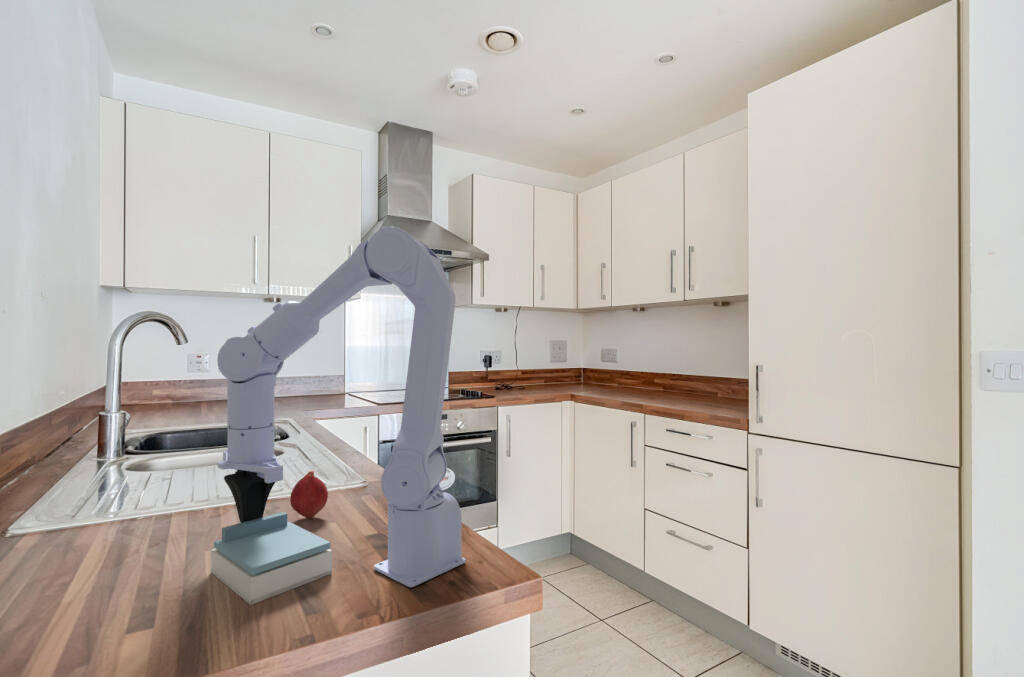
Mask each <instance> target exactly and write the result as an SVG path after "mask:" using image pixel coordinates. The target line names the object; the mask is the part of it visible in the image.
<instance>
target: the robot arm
mask: <svg viewBox="0 0 1024 677" xmlns="http://www.w3.org/2000/svg"><path fill="white" fill-rule="evenodd" d="M389 285H394V286H396V287H397V288H398V289H399V290H400V291H401V292H402V294H404V296H405V297H406V298H407V299H408V301H410V302H411V304H412V305H413V306H414V314H413V322H412V323H413V324H412V332H411V338H410V339H411V340H410V347H409V348H410V349H409V356H408V363H407V364H408V366H407V374H406V383H405V390H404V399H403V407H402V416H401V423H400V425H401V426H400V430H399V432H398V434H397V435H396V439H395V440H394V443H393V445H392V450H391V456H390V459H389V462H388V464H387V465H386V467H385V468H384V470H383V471H382V475H381V477H380V478H381V479H380V487H381V490H382V494H383V495H384V497H385V498H386V500H387V559H385V560H383V561H380V562H378V563H375V564H374V565H373V569H374V570H375V571H377V572H379V573H381V574H382V575H384V576H387V577H389V578H390V579H392V580H394V581H395V582H398V583H400V584H402V585H404V586H406V587H407V588H413V587H416V586H418V585H421V584H422V583H424V582H427V581H429V580H431V579H433V578H435V577H437V576H440V575H441V574H444V573H446V572H448V571H450V570H452V569H455V568H456V567H459V566H461V565H463V564H465V563H466V561H467V560H466V557H463V556H462V532H463V531H462V530H463V528H462V522H463V521H462V517H463V516H462V511H461V507H460V504H459V503H458V502H459V501H458V500H457V499H456V498H455V497H454V496H453V495H452V494H450V493H449V492H443V490H442V487H441V486H440V483H441V482H442V481H443V480H444V478H445V477H446V475H447V472H448V461H447V458H446V456H445V453H444V440H445V438H444V435H443V433H442V432H443V431H442V429H441V425H442V419H443V418H442V416H443V409H444V402H445V401H444V399H445V391H446V385H447V384H446V383H447V375H448V368H449V359H450V349H451V343H452V334H453V324H454V317H455V308H456V294H455V292H454V289H453V287H452V285H451V283H450V281H449V278H448V277H447V275H446V272H445V271H444V268H443V266H442V263H441V259H440V257H439V255H437V253H435V252H434V251H433V250H432V249H431V248H430V247H429V246H428V245H426V244H425V243H424V242H423V241H420V240H417V239H416V238H414V237H413V236H412V235H410V233H408V232H407V231H405V230H404V229H402V228H399V227H396V226H386V227H383V228H380V229H378V230H377V231H376V232H375V233H373V235H371V237H370V238H369V239H366V240H365V241H362V242H361V243H359V244H358V245H357V246H356V248H355V250H354V251H353V252H352V254H351V255H350V256H349V257H348V258H347V259H346V260H345V261H344V262H343V263H341V265H340V266H338V267H337V268H336V269H335V270H334V271H333V272H332V273H331V274H330V275H329V276H328V277H326V279H325V280H323V281H322V282H321V283H320V284H319V285H318V286H317V287H316V288H315V289H314V290H312V291H311V292H310V293H309V294H308V295H307V296H306V297H305V298H304V299H303V300H302V301H301V302H299V301H293V300H289V301H286V302H285V303H283V302H278V303H276V304H275V305H274V306H273V307H272V310H273V311H274V312H272V314H270V315H269V316H267V317H266V318H265V319H264V320H263V321H262V322H260V323H259V324H257V326H251V327H250V328H248V329H247V331H246V332H247V334H246V335H245V336H234V337H229V338H228V339H226V341H225V343H223V345H222V346H221V347H220V348H219V351H218V354H217V361H216V362H217V367H218V369H219V371H220V372H219V373H221V375H223V376H224V377H225V379H226V380H227V391H226V392H227V396H226V397H227V398H226V399H227V400H226V401H227V402H226V403H227V404H226V405H227V407H226V408H227V414H226V415H227V416H226V418H227V420H226V421H227V423H226V424H227V426H226V427H227V437H226V438H227V443H226V445H227V446H226V448H227V450H223V451H222V460H221V461H218V462H217V469H220V470H229V469H230V470H236V471H235V472H234V473H229V474H226V475H224V476H223V480H224V482H225V483H226V485H227V486H228V488H229V490H230V492H231V495H232V497H233V500H234V502H235V506H236V512H237V514H238V520H239V523H242V522H246V521H250V520H254V519H258V518H261V517H264V514H265V509H266V505H267V501H268V498H269V496H270V494H271V492H272V489H273V487H274V485H275V484H276V482H281V481H283V480H284V465H282V464H280V462H279V460H278V458H277V456H276V454H275V387H276V386H277V384H276V381H277V376H278V374H279V373H280V372H281V370H283V369H282V368H283V365H284V364H285V361H286V360H287V359H288V358H290V356H291V355H293V354H294V353H295V352H297V351H298V350H299V349H301V348H302V347H303V346H304V345H306V343H308V342H309V341H310V340H311V339H313V338H314V337H315V336H317V335H318V333H319V330H320V321H321V320H322V319H324V318H325V317H326V316H327V315H329V314H330V313H331V312H333V311H334V310H336V309H337V308H339V307H340V306H341V305H342V304H344V303H345V302H347V301H349V300H350V299H351V298H352V297H353V296H355V295H356V294H358V293H359V292H360V291H362V290H363V289H364V288H367V287H376V286H377V287H378V286H389Z"/></svg>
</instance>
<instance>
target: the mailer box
mask: <svg viewBox="0 0 1024 677" xmlns="http://www.w3.org/2000/svg"><path fill="white" fill-rule="evenodd" d="M210 560H211V561H210V574H212V575H213V576H215V577H216V578H217V580H220V582H221V583H223V584H224V585H226V586H227V587H228V588H229V589H230V590H232V591H233V592H234V593H236V594H237V595H238V596H239V597H240V598H242V599H243V600H244V601H245V602H246V603H247V604H249V605H251V606H252V605H254V604H257V603H260V602H262V601H265V600H268V599H270V598H273V597H275V596H278V595H280V594H282V593H285V592H288V591H292V590H294V589H296V588H298V587H301V586H303V585H306V584H309V583H312V582H314V581H317V580H319V579H322V578H324V577H327V576H330V575H332V573H333V566H332V565H333V564H332V563H333V551H332V549H331V548H330V549H328V550H325V551H322V552H319V553H316V554H313V555H310V556H307V557H304V558H301V559H298V560H295V561H293V562H290V563H287V564H284V565H281V566H278V567H275V568H272V569H269V570H266V571H263V572H260V573H257V574H255V575H252V574H250V573H249V572H247V571H246V570H245V569H243V568H242V567H240V566H239V565H238V564H236V563H235V562H233V561H232V560H231V559H229V558H228V557H226V556H225V555H224V554H222V553H221V552H220V551H218V550H217V549H215V548H212V549H210Z"/></svg>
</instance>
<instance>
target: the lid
mask: <svg viewBox="0 0 1024 677" xmlns="http://www.w3.org/2000/svg"><path fill="white" fill-rule="evenodd" d="M213 549H217V550H218V551H220V552H221V553H222V554H224V555H225V556H226V557H228V558H229V559H231V560H232V561H233V562H235V563H236V564H238V565H239V566H240V567H242V568H243V569H245V570H246V571H247V572H249V573H250V574H252V575H255V574H257V573H260V572H263V571H266V570H269V569H272V568H275V567H278V566H281V565H284V564H287V563H290V562H293V561H295V560H298V559H301V558H304V557H307V556H310V555H313V554H316V553H319V552H322V551H325V550H328V549H330V550H331V541H328V540H327V539H324V538H323V537H320V536H318V535H317V534H314V533H313V532H311V531H308V530H307V529H305V528H303V527H300V526H299V525H296V524H295V523H292V522H291V521H288V513H286V512H285V511H281V512H280V511H279V512H277V513H273V514H269V515H266V516H263V517H261V518H258V519H254V520H250V521H246V522H242V523H240V522H239V523H235V524H232V525H228V526H224V527H221V539H216V540H214V541H213Z"/></svg>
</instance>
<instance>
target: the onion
mask: <svg viewBox="0 0 1024 677" xmlns="http://www.w3.org/2000/svg"><path fill="white" fill-rule="evenodd" d="M328 497H329V491H328V488H327V485H326V484H325V483H324V482H323V481H322V480H321V479H320V478H318V477H316V476H315V472H314V470H310V471H308V473H306V474H305V475H304V476H303V477H301V478H300V479H299V480H298V481H297V482H296V484H295V485H294V487H293V488H292V491H291V493H290V497H289V501H290V506H291V507H292V510H294V511H295V512H296V513H297V514H298V515H299V516H302V517H304V518H305V519H308V520H310V519H311V520H312V519H313V518H314V517H315V516H316V515H317V514H319V512H320V511H321V510H323V508H325V506H326V504H327V502H328Z"/></svg>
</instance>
